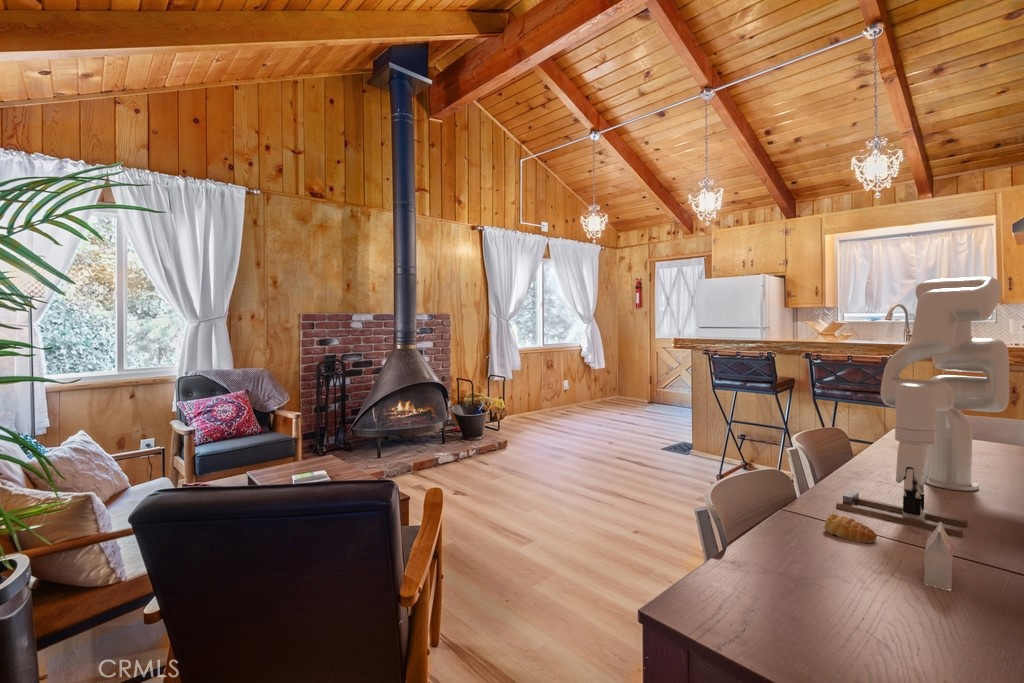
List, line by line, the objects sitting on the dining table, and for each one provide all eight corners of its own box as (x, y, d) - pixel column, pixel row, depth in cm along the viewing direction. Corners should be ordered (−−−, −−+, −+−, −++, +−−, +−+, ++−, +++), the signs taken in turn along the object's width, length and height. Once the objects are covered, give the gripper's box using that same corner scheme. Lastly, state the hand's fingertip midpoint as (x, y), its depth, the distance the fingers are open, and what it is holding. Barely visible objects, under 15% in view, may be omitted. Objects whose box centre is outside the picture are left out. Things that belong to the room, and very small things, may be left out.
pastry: (881, 540, 109) (882, 522, 109) (869, 548, 106) (869, 530, 105) (834, 526, 117) (834, 509, 117) (821, 533, 113) (821, 516, 113)
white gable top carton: (924, 584, 90) (925, 529, 90) (926, 570, 96) (927, 518, 95) (951, 591, 88) (952, 535, 88) (952, 577, 93) (953, 523, 93)
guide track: (847, 499, 134) (847, 494, 134) (967, 525, 116) (968, 520, 116) (836, 507, 128) (836, 503, 128) (961, 537, 110) (961, 531, 110)
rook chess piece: (929, 523, 117) (930, 489, 117) (908, 522, 118) (908, 488, 118) (918, 516, 122) (918, 483, 121) (897, 515, 123) (898, 482, 122)
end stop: (849, 501, 132) (849, 490, 132) (858, 503, 131) (858, 492, 130) (842, 507, 128) (842, 495, 128) (851, 509, 127) (852, 497, 127)
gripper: (902, 427, 128) (901, 499, 128) (887, 438, 116) (885, 516, 117) (941, 432, 122) (939, 506, 123) (928, 444, 111) (927, 525, 112)
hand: (913, 510), depth 120 cm, fingers closed on rook chess piece, 3 cm apart
